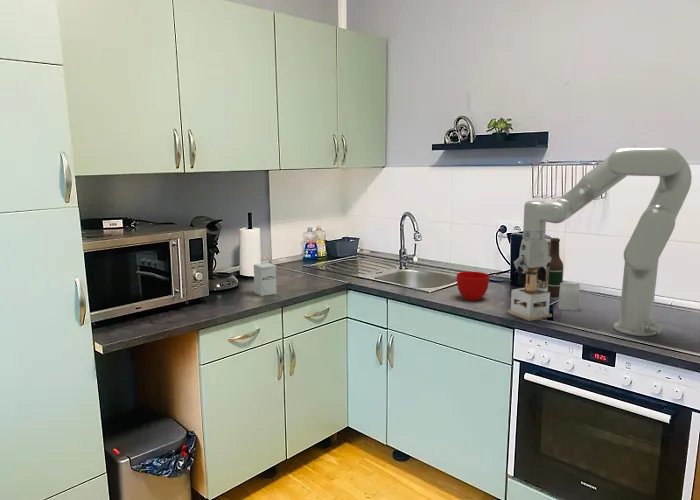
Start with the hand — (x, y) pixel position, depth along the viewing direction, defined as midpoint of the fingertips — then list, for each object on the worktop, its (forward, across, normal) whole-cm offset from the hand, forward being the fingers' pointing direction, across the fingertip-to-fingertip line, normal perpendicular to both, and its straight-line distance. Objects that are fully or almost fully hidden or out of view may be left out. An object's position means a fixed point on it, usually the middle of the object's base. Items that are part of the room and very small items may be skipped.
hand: (531, 282), depth 189 cm
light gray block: (+13, +19, -1) cm, 23 cm away
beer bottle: (+13, +30, +17) cm, 37 cm away
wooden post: (+11, 0, 0) cm, 11 cm away
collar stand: (+12, 0, 0) cm, 12 cm away
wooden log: (+13, +18, +13) cm, 26 cm away
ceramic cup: (+12, -2, +28) cm, 31 cm away
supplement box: (+12, -77, +75) cm, 108 cm away
